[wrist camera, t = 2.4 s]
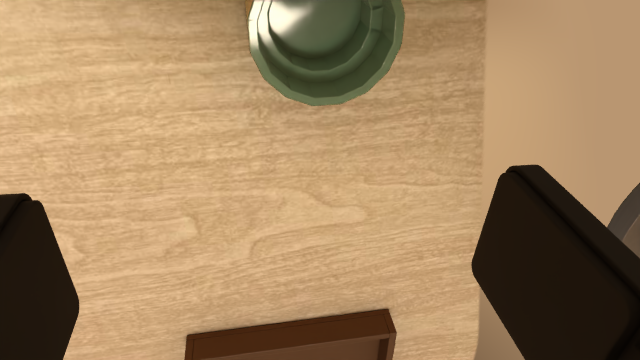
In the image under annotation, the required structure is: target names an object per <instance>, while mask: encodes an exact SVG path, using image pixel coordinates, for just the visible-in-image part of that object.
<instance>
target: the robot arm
mask: <svg viewBox="0 0 640 360" xmlns="http://www.w3.org/2000/svg"><path fill="white" fill-rule="evenodd" d="M472 272H473V275H474V277H475V279H476V280H477V282H478V284H479V285H480V287H481V288H482V290H483V292H484V293H485V295H486V297H487V298H488V300H489V302H490V303H491V305H492V306H493V308H494V310H495V311H496V313H497V315H498V316H499V318H500V319H501V321H502V323H503V324H504V326H505V328H506V329H507V331H508V333H509V334H510V336H511V337H512V339H513V340H514V342H515V344H516V346H517V347H518V349H519V350H520V352H521V354H522V355H523V357H524V359H525V360H640V258H639V257H638V256H637V255H636V254H635V253H634V252H633V251H631V250H630V249H629V248H628V247H627V246H626V245H625V244H624V243H623V242H622V241H621V240H620V239H619V238H617V237H616V236H615V235H614V234H613V233H612V232H611V231H610V230H609V229H608V228H607V227H605V225H603V224H602V223H601V222H600V221H599V220H598V219H597V218H596V217H595V216H594V215H593V214H592V213H591V212H589V211H588V210H587V209H586V208H585V207H584V206H583V205H582V204H581V203H580V202H579V201H578V200H577V199H575V198H574V197H573V196H572V195H571V194H570V193H569V192H568V191H567V190H565V188H564V187H562V186H561V185H560V184H559V183H558V182H557V181H556V180H555V179H554V178H553V177H552V176H551V175H550V174H549V173H547V172H546V171H545V170H544V169H543V168H542V167H541V166H539V165H521V166H511V167H509V168H508V169H507V170H506V173H503V174H502V175H500V177H499V179H498V182H497V185H496V188H495V191H494V194H493V198H492V201H491V204H490V207H489V210H488V213H487V216H486V219H485V223H484V225H483V228H482V231H481V235H480V238H479V241H478V244H477V247H476V250H475V253H474V256H473V259H472ZM78 314H79V299H78V295H77V293H76V290H75V288H74V285H73V282H72V280H71V277H70V275H69V272H68V269H67V267H66V264H65V262H64V259H63V256H62V254H61V251H60V249H59V246H58V243H57V241H56V238H55V236H54V233H53V230H52V228H51V225H50V223H49V220H48V217H47V215H46V212H45V209H44V207H43V205H42V203H41V202H40V201H37V200H34V201H32V199H31V197H30V196H29V195H28V194H25V193H21V194H3V195H0V360H63V358H64V355H65V352H66V349H67V346H68V343H69V340H70V337H71V335H72V332H73V329H74V326H75V323H76V320H77V317H78Z"/></svg>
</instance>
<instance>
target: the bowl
mask: <svg viewBox="0 0 640 360" xmlns="http://www.w3.org/2000/svg"><path fill="white" fill-rule="evenodd" d="M245 5H246V17H247V29H248V39H249V49H250V53H251V55H252V57H253V59H254V61H255V63H256V65H257V67H258V69H259V71H260V73H261V74H262V76H263V78H264V79H265V80H266V81H267V82H268V83H269V84H271V85H272V86H273V87H274V88H275V89H276V90H278V91H279V92H280V93H281V94H282V95H284V96H285V97H287V98H289V99H292V100H295V101H299V102H302V103H305V104H308V105H311V106H321V105H337V104H342V103H345V102H347V101H349V100H351V99H354V98H356V97H358V96H360V95H363V94H365V93H366V92H368V91H369V90H370V89H371V88H372V87H373V86H374V85H375V84H376V83H377V82H378V81H379V80H380V79H381V78H382V77H383V76H385V75H386V74H387V72H388V71H389V69H390V67H391V65H392V63H393V61H394V59H395V57H396V55H397V53H398V51H399V49H400V47H401V44H402V37H403V28H404V19H405V12H404V8H403V5H402V1H401V0H246V1H245Z"/></svg>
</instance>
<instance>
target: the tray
mask: <svg viewBox="0 0 640 360" xmlns="http://www.w3.org/2000/svg"><path fill="white" fill-rule="evenodd" d="M396 334H397V332H396V329H395V327H394V324H393V321H392V318H391V316H390V313H389V310H388V309H386V310H379V311H371V312H363V313H356V314H348V315H340V316H333V317H325V318H317V319H310V320H302V321H294V322H287V323H279V324H271V325H264V326H256V327H248V328H241V329H233V330H225V331H218V332H210V333H202V334H195V335H187V341H186V350H185V360H392V358H393V352H394V346H395V340H396Z"/></svg>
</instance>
